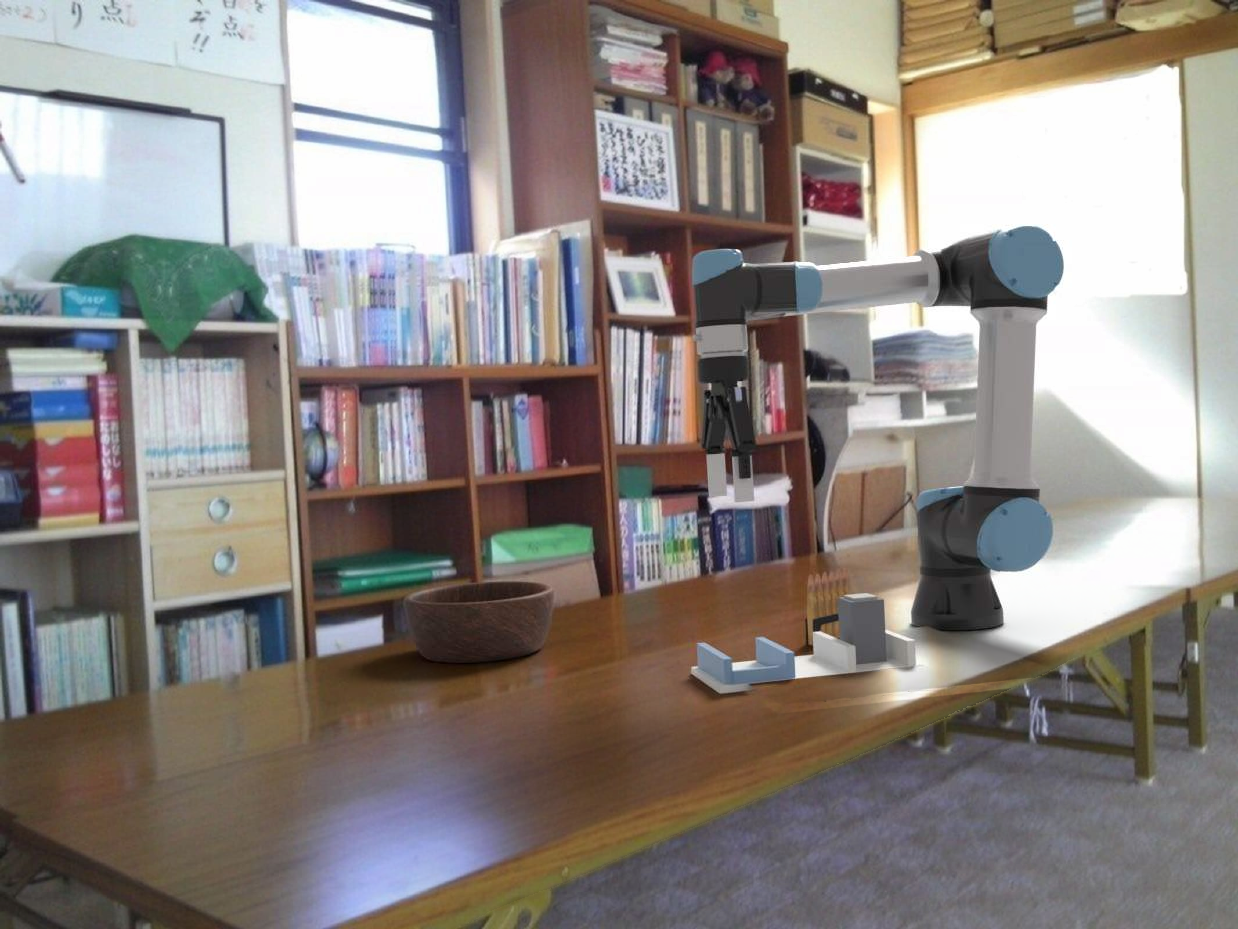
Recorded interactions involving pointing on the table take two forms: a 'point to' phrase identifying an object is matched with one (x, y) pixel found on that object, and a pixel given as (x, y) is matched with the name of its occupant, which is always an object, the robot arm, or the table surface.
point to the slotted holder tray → (795, 662)
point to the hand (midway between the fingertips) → (730, 499)
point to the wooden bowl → (480, 620)
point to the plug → (863, 626)
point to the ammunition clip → (825, 603)
